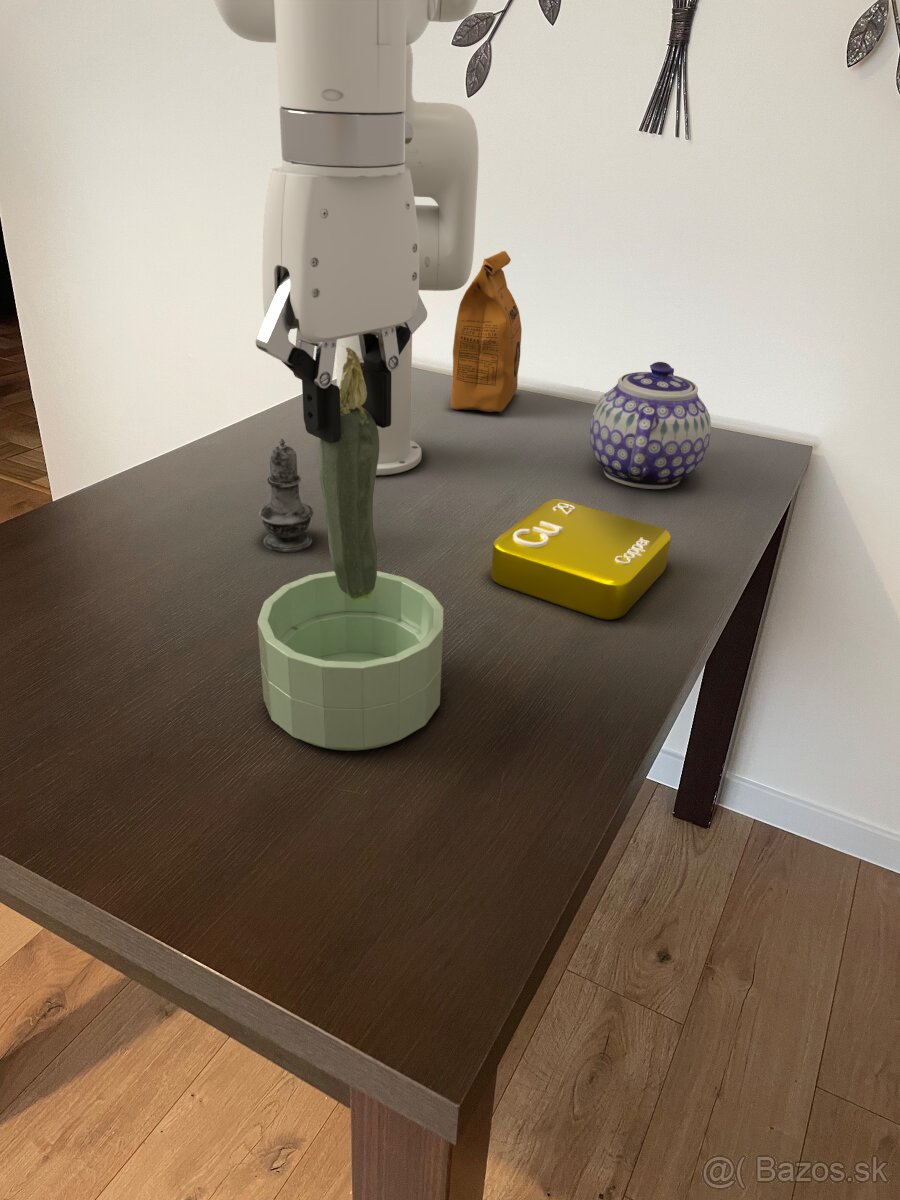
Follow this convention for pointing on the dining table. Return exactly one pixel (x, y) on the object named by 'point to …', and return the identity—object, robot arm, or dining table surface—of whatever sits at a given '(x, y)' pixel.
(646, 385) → the teapot
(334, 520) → the vegetable
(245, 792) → the dining table surface
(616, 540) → the element tile
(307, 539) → the salt shaker
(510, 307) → the coffee package
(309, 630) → the bowl
